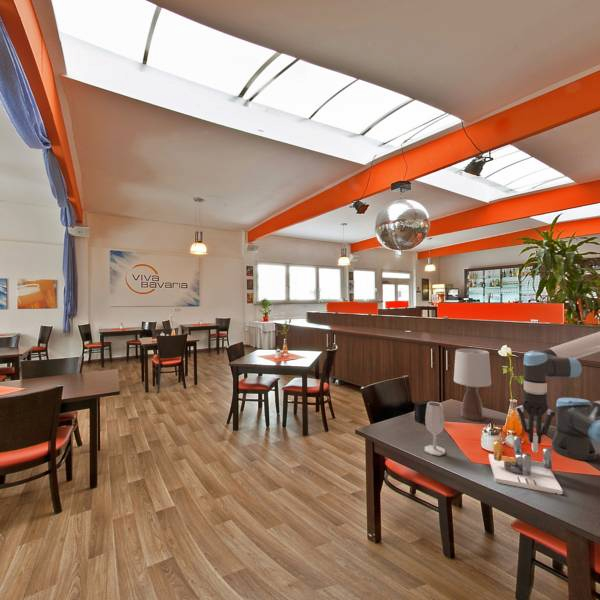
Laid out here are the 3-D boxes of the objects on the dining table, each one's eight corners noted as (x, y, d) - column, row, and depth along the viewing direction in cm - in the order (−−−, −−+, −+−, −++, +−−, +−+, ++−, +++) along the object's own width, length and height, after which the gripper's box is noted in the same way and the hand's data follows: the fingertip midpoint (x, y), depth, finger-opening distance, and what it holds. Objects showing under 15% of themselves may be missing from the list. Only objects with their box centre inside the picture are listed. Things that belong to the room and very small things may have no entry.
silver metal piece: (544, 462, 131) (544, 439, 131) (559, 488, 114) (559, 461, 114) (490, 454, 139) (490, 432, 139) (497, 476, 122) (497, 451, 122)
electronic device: (414, 420, 181) (414, 402, 181) (429, 418, 184) (429, 400, 184) (419, 423, 177) (419, 404, 177) (435, 420, 180) (434, 402, 180)
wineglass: (428, 445, 152) (427, 399, 151) (448, 450, 146) (448, 403, 146) (421, 452, 145) (421, 404, 144) (442, 458, 139) (441, 408, 139)
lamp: (492, 414, 188) (492, 349, 187) (490, 426, 172) (490, 355, 171) (456, 409, 198) (455, 347, 197) (451, 419, 182) (451, 352, 181)
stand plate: (546, 466, 132) (546, 462, 132) (562, 494, 113) (562, 489, 113) (488, 457, 140) (488, 453, 140) (495, 482, 121) (495, 477, 121)
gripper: (552, 390, 132) (551, 449, 132) (513, 387, 137) (513, 444, 138) (558, 396, 125) (557, 458, 125) (517, 392, 130) (517, 452, 131)
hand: (534, 450), depth 131 cm, fingers closed
